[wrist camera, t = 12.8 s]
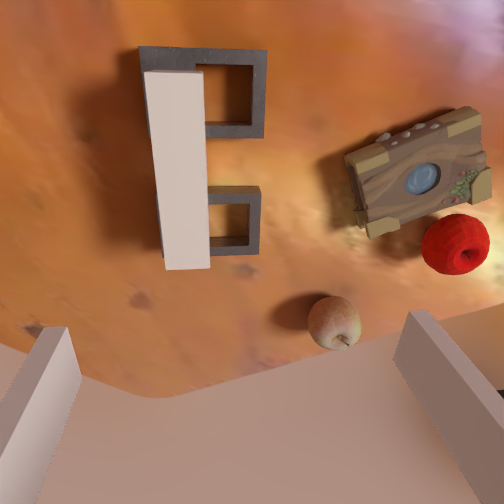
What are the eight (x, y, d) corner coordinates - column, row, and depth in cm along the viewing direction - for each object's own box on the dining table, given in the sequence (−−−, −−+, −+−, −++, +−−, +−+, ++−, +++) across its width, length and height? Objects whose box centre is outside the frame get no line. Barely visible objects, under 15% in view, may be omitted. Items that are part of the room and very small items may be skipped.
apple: (427, 197, 45) (464, 221, 38) (476, 211, 47) (519, 235, 40) (398, 250, 48) (428, 279, 42) (445, 261, 50) (480, 290, 44)
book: (357, 226, 46) (373, 243, 42) (337, 148, 41) (353, 159, 36) (464, 184, 45) (492, 197, 41) (459, 98, 40) (489, 103, 35)
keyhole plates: (142, 46, 33) (138, 45, 31) (263, 50, 35) (267, 50, 32) (164, 247, 44) (162, 257, 42) (256, 245, 45) (258, 254, 43)
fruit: (358, 291, 51) (382, 327, 44) (340, 329, 54) (359, 368, 47) (311, 283, 49) (328, 320, 42) (295, 322, 53) (308, 362, 46)
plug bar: (157, 69, 34) (143, 72, 27) (203, 70, 35) (202, 73, 27) (172, 233, 43) (165, 270, 35) (209, 232, 43) (210, 268, 36)
